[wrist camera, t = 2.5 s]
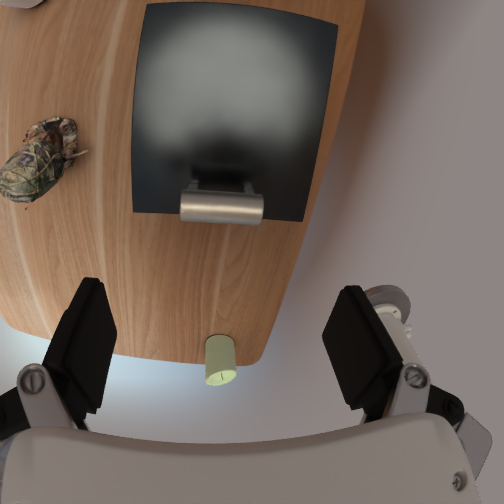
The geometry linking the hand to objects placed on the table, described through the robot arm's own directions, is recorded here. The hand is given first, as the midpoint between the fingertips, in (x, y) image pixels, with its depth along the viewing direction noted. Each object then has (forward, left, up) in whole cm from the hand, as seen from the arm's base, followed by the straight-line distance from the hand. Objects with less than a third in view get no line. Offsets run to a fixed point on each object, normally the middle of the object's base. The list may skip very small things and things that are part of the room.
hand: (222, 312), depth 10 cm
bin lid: (0, -7, -13) cm, 14 cm away
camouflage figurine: (+21, -2, -24) cm, 32 cm away
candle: (-2, +31, -24) cm, 39 cm away
